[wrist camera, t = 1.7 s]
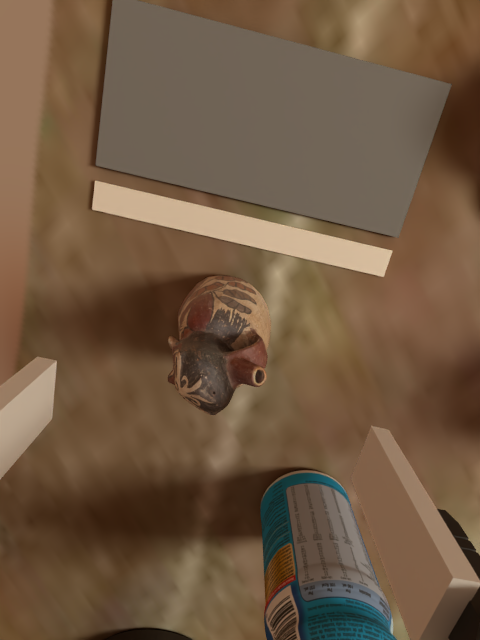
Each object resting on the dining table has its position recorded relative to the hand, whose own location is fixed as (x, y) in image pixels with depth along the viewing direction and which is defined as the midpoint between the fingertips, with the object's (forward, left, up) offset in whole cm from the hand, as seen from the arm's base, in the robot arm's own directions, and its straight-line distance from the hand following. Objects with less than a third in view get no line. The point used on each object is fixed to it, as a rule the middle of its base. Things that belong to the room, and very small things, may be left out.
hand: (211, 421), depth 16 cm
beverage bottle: (-16, -11, -15) cm, 25 cm away
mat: (+14, 0, -15) cm, 20 cm away
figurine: (0, 0, -15) cm, 15 cm away
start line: (+7, 0, -15) cm, 16 cm away
